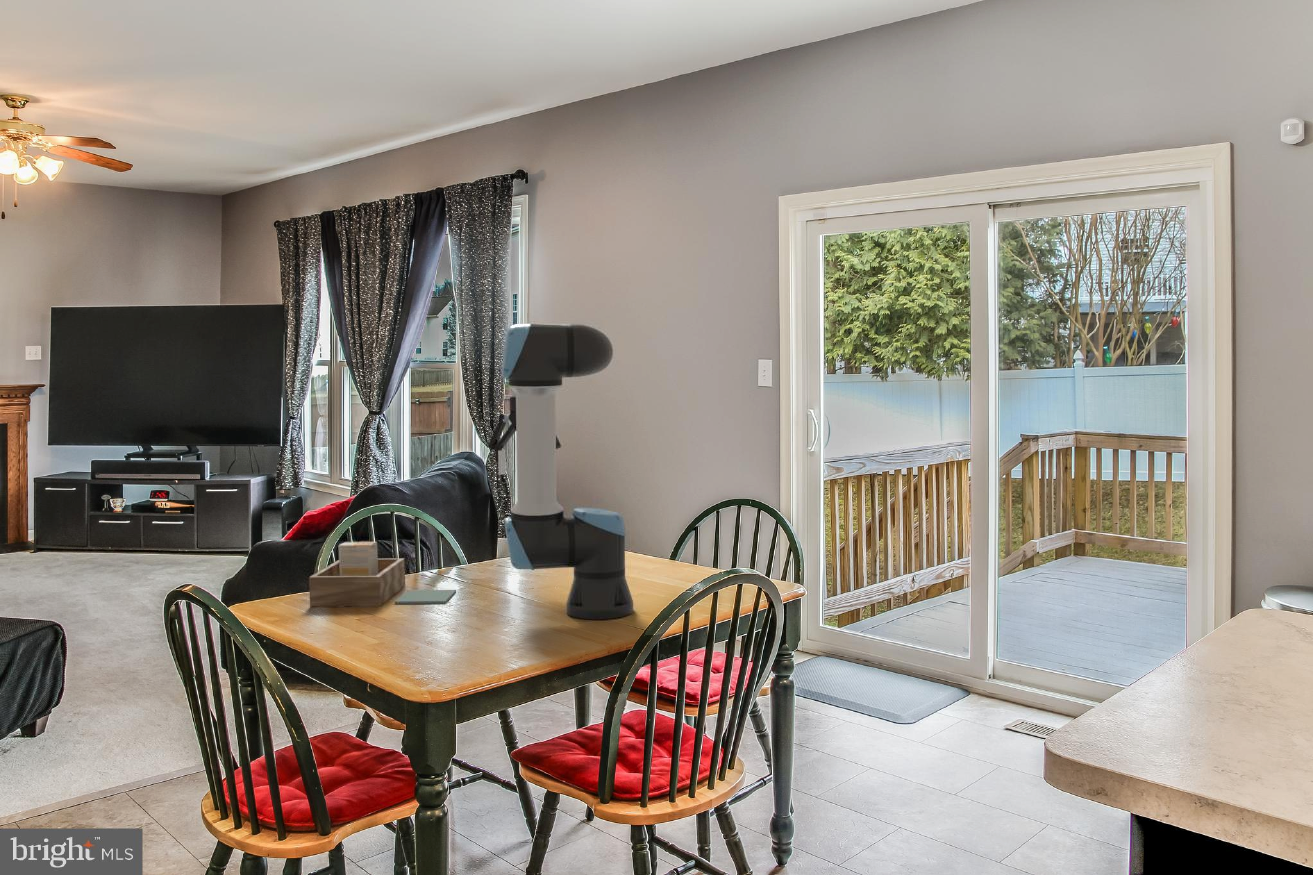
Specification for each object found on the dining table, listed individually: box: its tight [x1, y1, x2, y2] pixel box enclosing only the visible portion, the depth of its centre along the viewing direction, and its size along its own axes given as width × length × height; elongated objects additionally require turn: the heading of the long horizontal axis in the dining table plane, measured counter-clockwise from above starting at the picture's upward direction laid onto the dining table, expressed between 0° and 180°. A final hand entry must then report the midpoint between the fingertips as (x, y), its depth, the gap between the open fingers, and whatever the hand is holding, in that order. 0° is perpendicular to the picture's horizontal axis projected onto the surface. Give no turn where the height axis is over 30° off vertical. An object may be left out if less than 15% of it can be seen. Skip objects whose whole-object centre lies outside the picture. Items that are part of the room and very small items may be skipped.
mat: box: [394, 589, 457, 605], centre depth 234 cm, size 12×12×1 cm
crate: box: [308, 557, 406, 608], centre depth 237 cm, size 22×16×7 cm
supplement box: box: [338, 541, 379, 576], centre depth 237 cm, size 8×5×13 cm, turn 84°
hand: (524, 474), depth 260 cm, fingers open, 13 cm apart
